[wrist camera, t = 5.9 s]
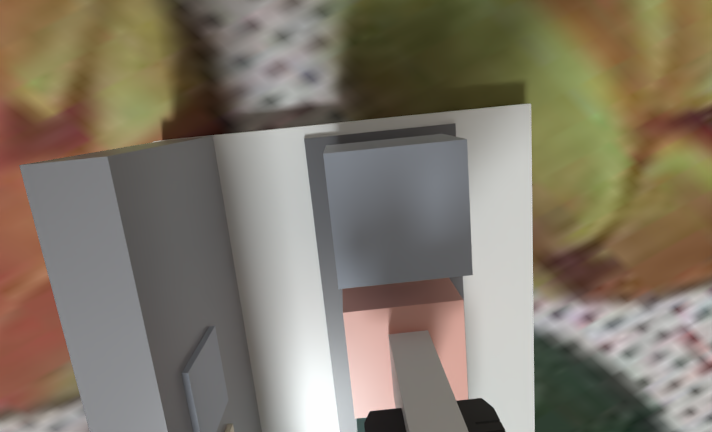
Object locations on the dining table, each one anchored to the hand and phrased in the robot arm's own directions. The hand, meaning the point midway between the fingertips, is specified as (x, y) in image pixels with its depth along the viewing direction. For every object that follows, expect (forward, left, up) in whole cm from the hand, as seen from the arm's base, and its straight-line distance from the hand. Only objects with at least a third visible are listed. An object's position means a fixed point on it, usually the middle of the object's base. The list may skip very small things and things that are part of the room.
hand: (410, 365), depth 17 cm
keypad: (-2, -3, -5) cm, 6 cm away
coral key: (0, 0, -4) cm, 4 cm away
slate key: (0, +6, -2) cm, 6 cm away
